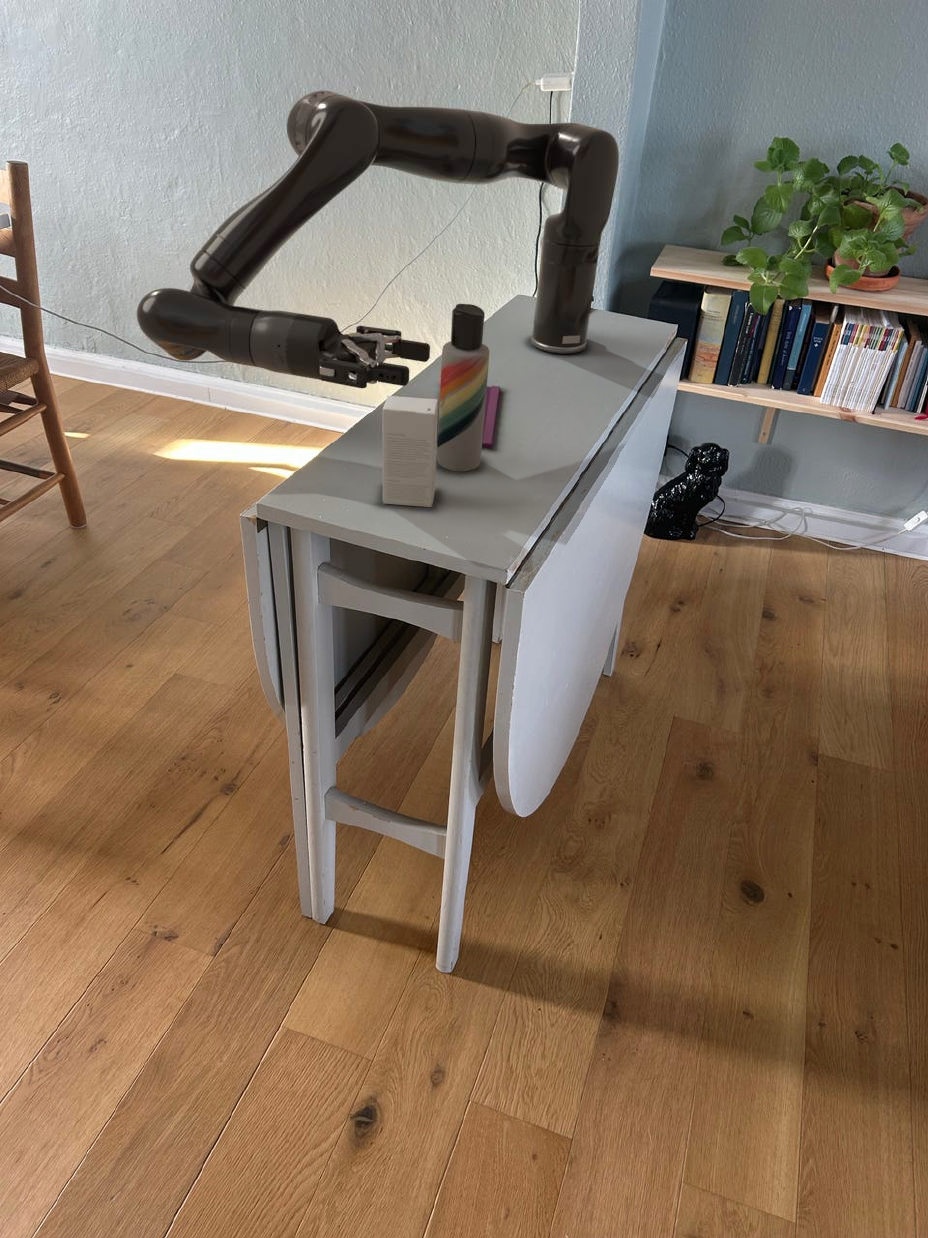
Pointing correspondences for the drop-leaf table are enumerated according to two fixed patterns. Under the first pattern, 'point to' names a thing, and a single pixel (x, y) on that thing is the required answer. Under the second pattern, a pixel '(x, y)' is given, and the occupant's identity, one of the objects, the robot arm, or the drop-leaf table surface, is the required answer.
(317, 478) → the drop-leaf table surface
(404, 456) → the cosmetic box
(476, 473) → the drop-leaf table surface
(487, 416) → the purple rectangular block
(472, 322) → the lotion bottle
